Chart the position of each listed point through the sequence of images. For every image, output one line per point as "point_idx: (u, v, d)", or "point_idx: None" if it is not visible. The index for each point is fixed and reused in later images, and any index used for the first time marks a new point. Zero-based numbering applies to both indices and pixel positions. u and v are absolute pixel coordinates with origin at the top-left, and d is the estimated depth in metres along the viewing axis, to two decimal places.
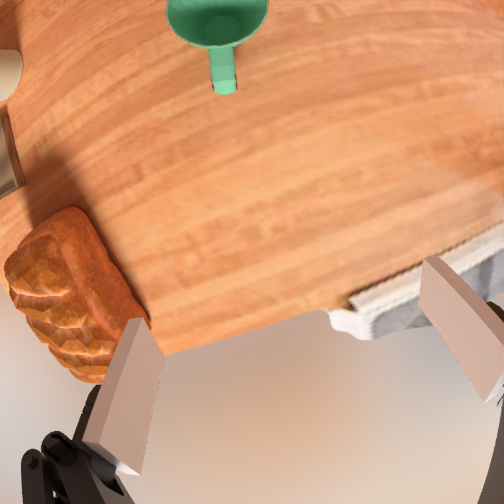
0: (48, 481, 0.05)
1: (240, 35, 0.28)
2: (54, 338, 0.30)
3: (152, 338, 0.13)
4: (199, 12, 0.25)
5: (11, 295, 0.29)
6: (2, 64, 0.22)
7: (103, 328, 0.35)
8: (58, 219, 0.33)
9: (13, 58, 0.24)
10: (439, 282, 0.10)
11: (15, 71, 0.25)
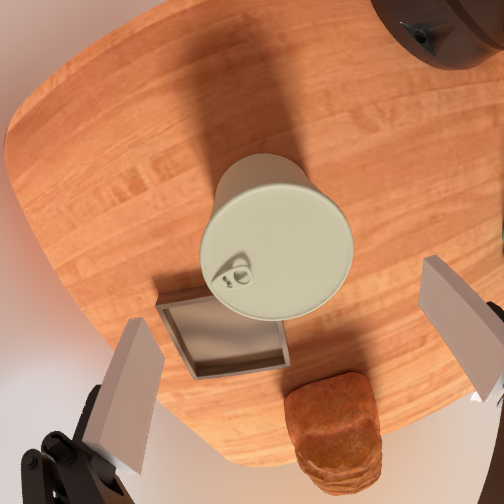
0: (48, 481, 0.05)
1: None
2: (354, 485, 0.31)
3: (152, 338, 0.13)
4: None
5: (318, 476, 0.29)
6: None
7: None
8: (365, 399, 0.34)
9: None
10: (439, 282, 0.10)
11: None
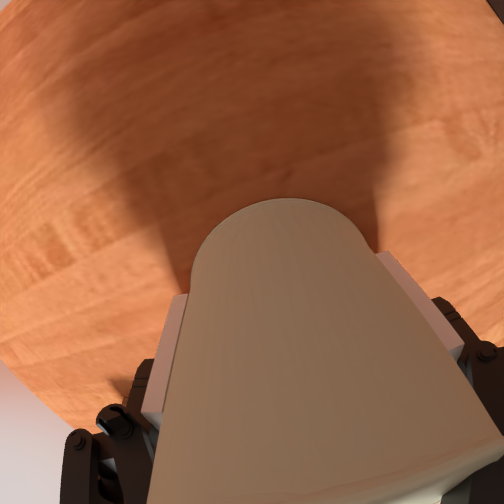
0: (95, 465, 0.06)
1: None
2: None
3: None
4: None
5: None
6: None
7: None
8: None
9: None
10: None
11: None
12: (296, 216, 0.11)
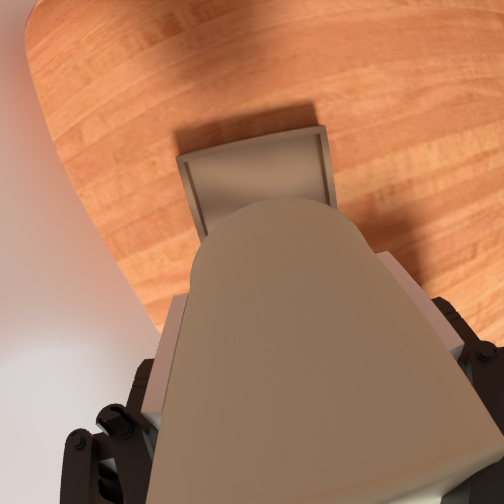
0: (95, 465, 0.06)
1: None
2: None
3: None
4: None
5: None
6: None
7: None
8: None
9: None
10: None
11: None
12: (296, 215, 0.11)
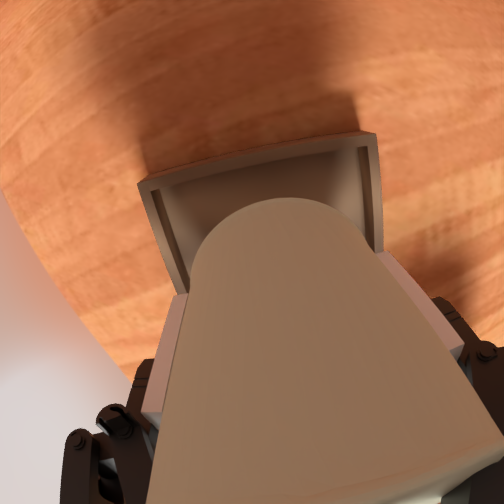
0: (95, 465, 0.06)
1: None
2: None
3: None
4: None
5: None
6: None
7: None
8: None
9: None
10: None
11: None
12: (296, 216, 0.11)
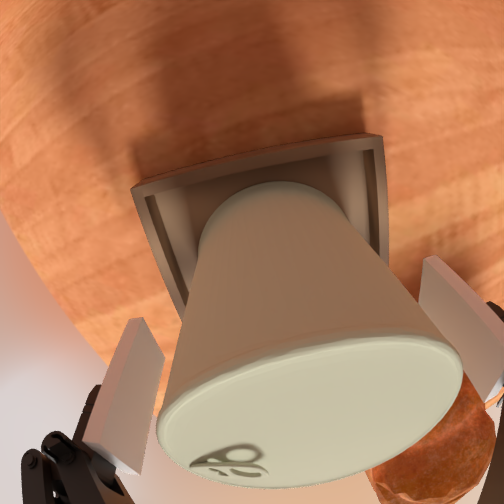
0: (48, 481, 0.05)
1: None
2: None
3: (152, 338, 0.13)
4: None
5: None
6: None
7: None
8: None
9: None
10: (439, 282, 0.10)
11: None
12: (285, 193, 0.13)
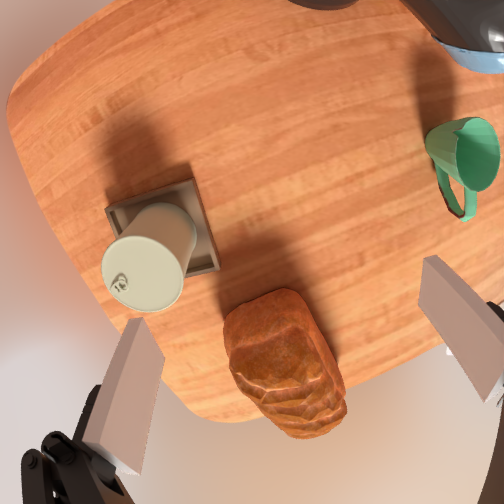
0: (48, 481, 0.05)
1: None
2: (305, 415, 0.36)
3: (152, 338, 0.13)
4: None
5: (254, 394, 0.35)
6: (189, 247, 0.34)
7: (337, 389, 0.41)
8: (292, 308, 0.39)
9: (190, 229, 0.36)
10: (439, 282, 0.10)
11: (193, 244, 0.38)
12: (155, 207, 0.35)
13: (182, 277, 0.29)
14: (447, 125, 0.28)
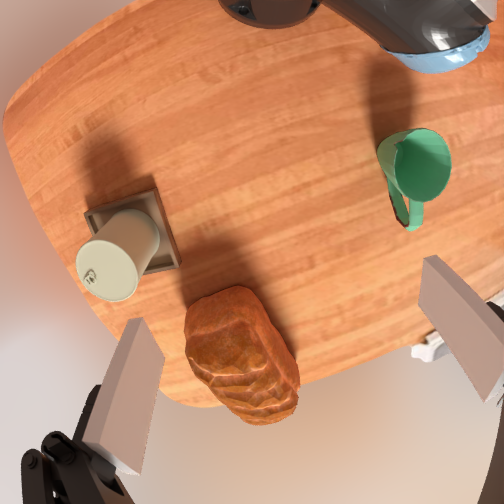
0: (48, 481, 0.05)
1: (403, 162, 0.40)
2: (251, 401, 0.42)
3: (152, 338, 0.13)
4: (385, 141, 0.36)
5: (203, 378, 0.40)
6: (149, 248, 0.39)
7: (286, 381, 0.46)
8: (241, 304, 0.44)
9: (152, 232, 0.41)
10: (439, 282, 0.10)
11: (156, 245, 0.43)
12: (123, 213, 0.40)
13: (136, 274, 0.34)
14: (393, 137, 0.33)
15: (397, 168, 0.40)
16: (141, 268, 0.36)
